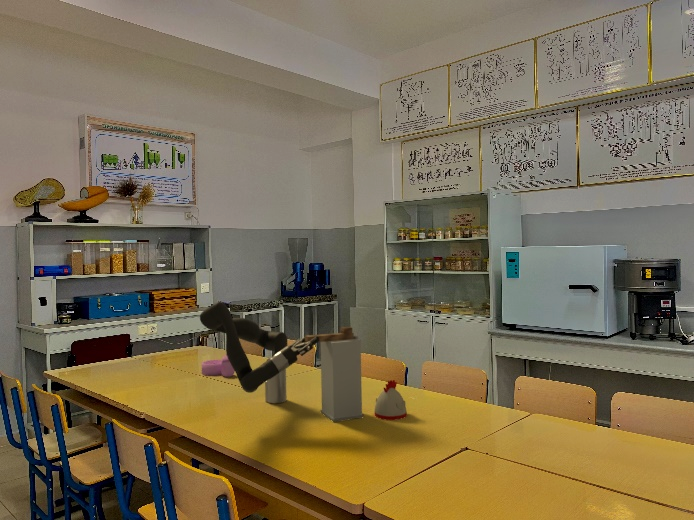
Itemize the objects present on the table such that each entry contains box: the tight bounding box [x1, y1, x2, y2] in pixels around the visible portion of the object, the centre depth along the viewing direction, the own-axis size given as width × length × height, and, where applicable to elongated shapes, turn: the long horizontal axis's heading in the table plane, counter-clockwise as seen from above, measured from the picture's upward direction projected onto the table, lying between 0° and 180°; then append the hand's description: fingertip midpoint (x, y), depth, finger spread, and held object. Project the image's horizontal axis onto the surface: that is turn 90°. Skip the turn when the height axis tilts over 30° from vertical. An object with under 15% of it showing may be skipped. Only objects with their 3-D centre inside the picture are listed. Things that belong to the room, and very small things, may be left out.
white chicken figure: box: [374, 379, 408, 421], centre depth 233 cm, size 14×14×15 cm
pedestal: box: [319, 334, 365, 423], centre depth 234 cm, size 14×15×34 cm
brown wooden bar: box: [304, 326, 355, 343], centre depth 232 cm, size 21×4×5 cm, turn 113°
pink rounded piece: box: [201, 352, 236, 378], centre depth 320 cm, size 25×15×13 cm, turn 47°
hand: (314, 336), depth 229 cm, fingers open, 8 cm apart
